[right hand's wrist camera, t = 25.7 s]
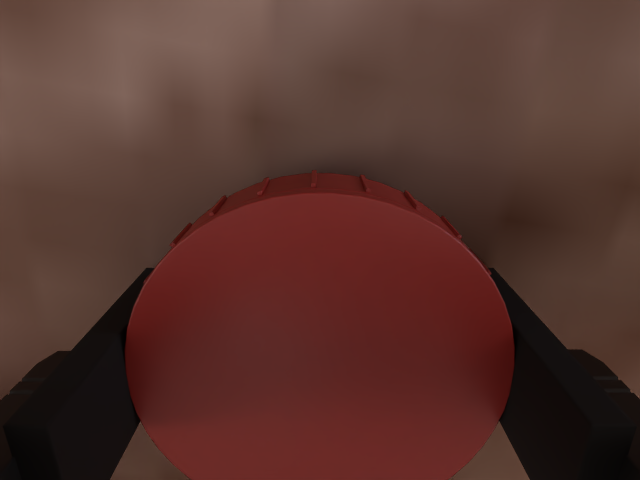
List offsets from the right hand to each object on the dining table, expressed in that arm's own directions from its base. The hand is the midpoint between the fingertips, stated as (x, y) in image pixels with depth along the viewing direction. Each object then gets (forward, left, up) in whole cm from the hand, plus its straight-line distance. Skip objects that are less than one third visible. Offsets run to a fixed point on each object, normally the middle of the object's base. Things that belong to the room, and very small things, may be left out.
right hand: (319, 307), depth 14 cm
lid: (0, 0, +3) cm, 3 cm away
